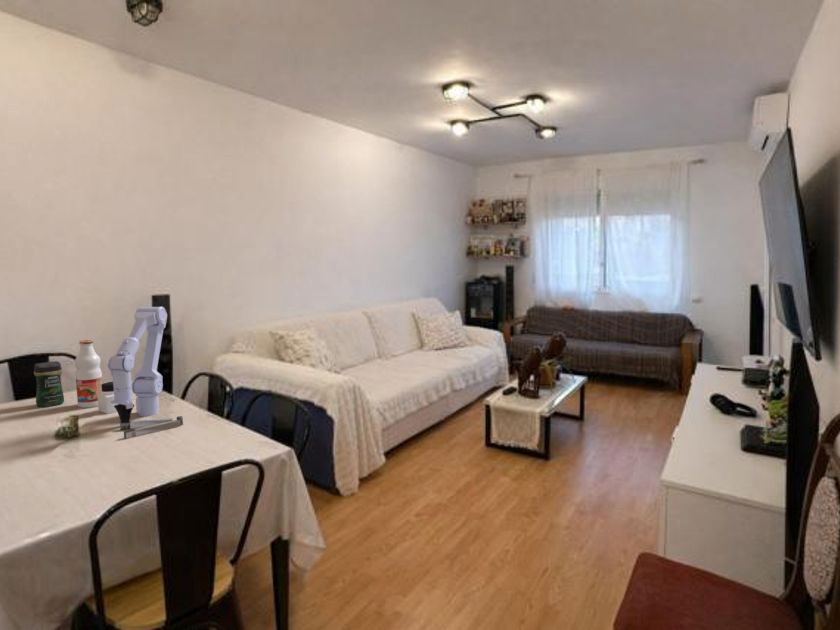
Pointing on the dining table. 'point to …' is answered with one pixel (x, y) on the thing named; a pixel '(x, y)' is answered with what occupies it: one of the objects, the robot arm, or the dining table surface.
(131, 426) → the hinged tong arm
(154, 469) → the dining table surface
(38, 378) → the coffee jar
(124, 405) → the robot arm
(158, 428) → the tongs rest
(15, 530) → the dining table surface
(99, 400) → the medicine bottle
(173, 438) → the dining table surface
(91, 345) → the fruit juice
